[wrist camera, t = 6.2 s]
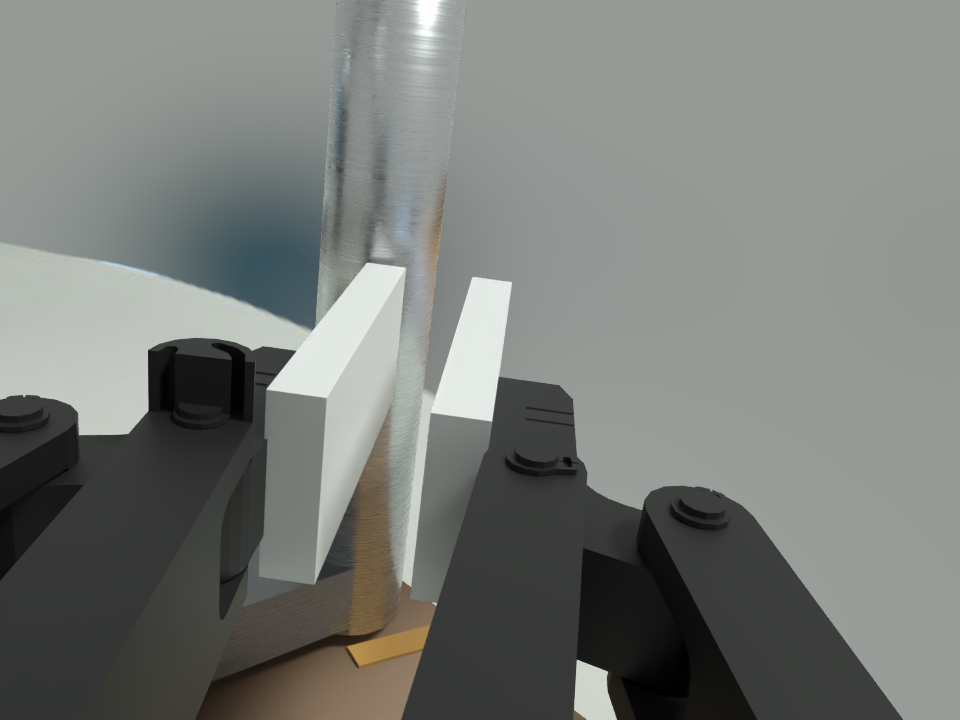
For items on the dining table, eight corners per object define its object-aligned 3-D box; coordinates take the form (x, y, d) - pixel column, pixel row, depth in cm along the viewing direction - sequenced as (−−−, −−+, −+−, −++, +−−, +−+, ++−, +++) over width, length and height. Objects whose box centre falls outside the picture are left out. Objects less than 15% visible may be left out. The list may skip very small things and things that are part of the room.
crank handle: (-417, 1103, 11) (-1271, -1261, 4) (-398, 732, 15) (-793, -646, 9) (480, 669, 20) (630, -295, 13) (317, 521, 24) (370, -241, 18)
